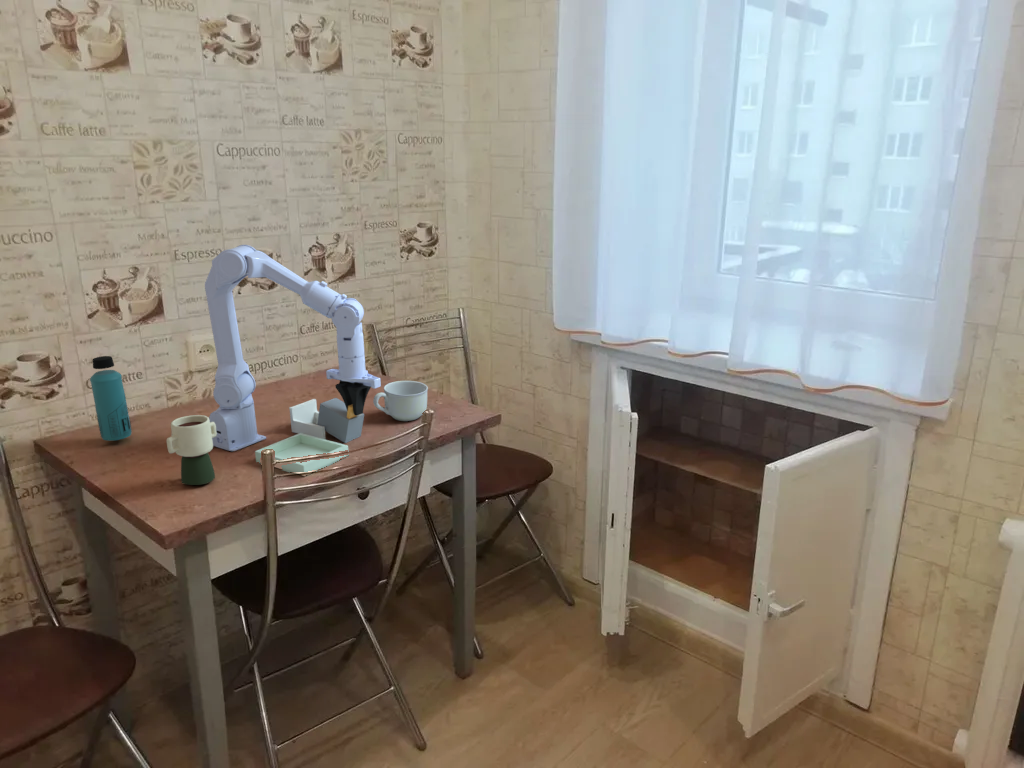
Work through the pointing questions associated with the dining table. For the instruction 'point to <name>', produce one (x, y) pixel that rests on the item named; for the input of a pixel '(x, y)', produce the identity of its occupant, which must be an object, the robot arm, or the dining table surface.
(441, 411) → the dining table surface
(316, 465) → the tray
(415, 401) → the teacup
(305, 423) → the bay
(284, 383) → the dining table surface
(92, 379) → the beverage bottle
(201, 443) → the character mug
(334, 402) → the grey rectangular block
